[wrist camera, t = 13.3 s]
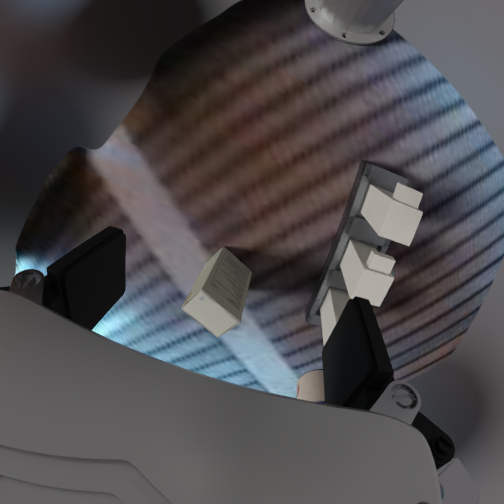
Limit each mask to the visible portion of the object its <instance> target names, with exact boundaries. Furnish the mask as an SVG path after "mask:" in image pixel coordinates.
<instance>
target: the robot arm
mask: <svg viewBox="0 0 504 504" xmlns="http://www.w3.org/2000/svg"><path fill="white" fill-rule="evenodd" d="M402 1H403V0H305V7H306V11H307V13H308V15H309V17H310V19H311V20H312V21H313V23H314V24H315V25H316V26H317V27H318V28H319V29H320V30H322V31H323V32H324V33H326V34H327V35H329V36H331V37H333V38H335V39H337V40H340V41H342V42H345V43H350V44H355V45H369V44H373V43H377V42H379V41H381V40H383V39H384V38H385V37H387V36H388V35H389V33H390V32H391V31H392V29H393V27H394V22H395V17H394V12H393V11H394V10H395V9H396V8H397V7H398V6H399V5H400V4H401V2H402ZM312 11H314V12H312ZM380 33H381V34H382V35H381V34H380ZM342 36H345V37H346V38H344V37H342ZM125 256H126V235H125V234H123V230H122V229H118V228H115V227H112V226H109V227H107V228H106V229H104V230H102V231H101V232H99V233H98V234H96V235H94V236H93V237H91V238H90V239H88V240H87V241H85V242H84V243H82V244H81V245H79V246H77V247H76V248H74V249H73V250H71V251H70V252H69V253H67V254H66V255H64V256H63V257H61V258H60V259H58V260H57V261H56V262H54V263H53V264H51V265H50V266H48V267H47V275H46V276H45V277H44V275H43V273H42V272H41V271H39V270H35V269H28V270H24V271H21V272H19V273H18V274H16V275H15V276H14V277H13V279H12V281H11V285H10V286H8V287H0V504H477V503H478V502H479V498H480V492H479V488H478V486H477V485H476V483H475V482H474V480H473V479H472V477H471V476H470V475H469V473H468V472H467V470H466V469H465V467H464V466H463V465H462V463H461V462H460V461H459V459H458V458H457V459H455V460H454V459H453V457H454V453H455V448H454V444H453V442H452V440H451V438H450V437H449V436H448V435H447V434H446V433H444V432H443V431H442V430H441V429H439V428H438V427H437V426H436V425H434V423H432V422H431V421H430V420H429V419H428V418H426V417H425V416H424V415H423V414H421V413H420V412H419V411H418V410H419V408H420V405H421V398H420V395H419V393H418V392H417V390H416V389H415V388H414V387H413V386H412V385H411V384H409V383H407V382H404V381H401V380H396V381H394V377H393V374H394V372H393V369H392V365H391V362H390V359H389V356H388V353H387V349H386V346H385V343H384V340H383V337H382V334H381V331H380V329H379V326H378V323H377V320H376V317H375V314H374V312H373V309H372V306H371V304H370V301H369V300H368V299H365V298H361V297H357V296H355V297H354V298H353V299H351V298H350V299H349V300H348V302H347V304H346V306H345V308H344V310H343V312H342V314H341V316H340V318H339V319H338V321H337V323H336V325H335V327H334V329H333V331H332V333H331V335H330V336H329V338H328V340H327V342H326V344H325V345H324V348H323V351H322V361H323V377H324V397H325V403H319V402H313V401H308V400H303V399H297V398H292V397H287V396H282V395H278V394H273V393H269V392H264V391H260V390H256V389H252V388H248V387H244V386H240V385H237V384H233V383H230V382H226V381H223V380H219V379H216V378H212V377H209V376H206V375H203V374H199V373H196V372H193V371H190V370H187V369H184V368H181V367H179V366H176V365H173V364H170V363H167V362H165V361H162V360H159V359H157V358H154V357H151V356H149V355H146V354H144V353H141V352H139V351H136V350H134V349H131V348H129V347H127V346H124V345H122V344H120V343H117V342H115V341H113V340H111V339H108V338H106V337H104V336H102V335H100V334H98V333H96V332H94V331H91V330H92V329H93V328H94V327H95V326H96V324H97V323H98V322H99V321H100V320H101V319H102V318H103V317H104V315H105V314H106V313H107V312H108V311H109V310H110V309H111V308H112V306H113V305H114V304H115V303H116V302H117V301H118V300H119V299H120V298H121V297H122V296H123V294H124V292H125V287H126V285H125Z"/></svg>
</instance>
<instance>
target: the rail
mask: <svg viewBox="0 0 504 504" xmlns="http://www.w3.org/2000/svg"><path fill="white" fill-rule="evenodd" d="M397 182H398V183H401V184H403V185H405V186H408V187H410V188H411V186H412V183H413V181H411V180H408V179H406V178H404V177H402V176H399V175H397V174H395V173H392V172H390V171H387V170H385V169H383V168H380V167H378V166H375V165H372V164H370V163H367V162H365V161H362V160H361V162H360V166H359V169H358V172H357V175H356V178H355V181H354V185H353V188H352V191H351V194H350V197H349V200H348V202H347V205H346V208H345V211H344V214H343V217H342V220H341V222H340V225H339V228H338V231H337V233H336V236H335V239H334V242H333V244H332V247H331V249H330V252H329V255H328V257H327V260H326V262H325V265H324V267H323V270H322V272H321V275H320V277H319V280H318V282H317V285H316V287H315V290H314V292H313V294H312V297H311V299H310V301H309V304H308V306H307V308H306V311H305V316H306V322H307V323H311V324H315V325H319V326H322V322H321V312H320V307H321V305H322V303H323V301H324V298H325V296H326V294H327V292H328V289H329V287H332V288H335V289H339V290H343V291H347V292H348V290H347V287H346V283H345V280H344V277H343V273H342V270H341V267H340V262H341V259H342V257H343V254H344V252H345V249H346V247H347V244H348V242H349V239H353V240H356V241H359V242H362V243H365V244H368V245H371V246H374V247H375V248H376V249H377V251H378V252H380V253H383V254H385V253H386V251H387V249H388V246H389V244H390V242H391V240H390V239H387V238H384V237H381V236H379V235H378V234H377V233H376V232H375V230H374V229H373V228H372V226H371V225H370V224H369V223H368V221H367V220H366V219H365V217H364V216H363V215H362V214H361V212H360V210H361V207H362V204H363V201H364V198H365V195H366V192H367V189H368V186H369V183H370V184H372V185H375V186H377V187H380V188H383V189H385V190H388V191H390V192H393V193H394V191H395V188H396V185H397Z"/></svg>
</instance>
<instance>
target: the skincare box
mask: <svg viewBox="0 0 504 504" xmlns="http://www.w3.org/2000/svg"><path fill="white" fill-rule="evenodd" d="M251 276H252V272H251V271H250V270H249V269H248V268H247V267H246V266H245V265H244V264H243V263H242V262H241V261H240V260H239V259H238V258H237V257H235V256H234V255H233V254H232V253H231V252H230V251H229V250H227V249H226V248H225V247H222V248H221V249H220V250H219V251H218V252H217V253H216V254H215V255H214V256H213V257H212V258H211V259H210V260H209V261H208V262H207V263H206V265H205V266H204V268H203V270H202V272H201V274H200V275H199V277H198V279H197V281H196V282H195V284H194V286H193V288H192V289H191V291H190V293H189V295H188V297H187V299H186V300H185V302H184V304H183V306H182V309H183V310H184V311H185V312H186V313H187V314H188V315H190V316H191V317H192V318H193V319H194V320H195V321H197V322H198V323H199V324H200V325H202V326H203V327H204V328H206V329H207V330H208V331H210V332H211V333H212V334H214V335H215V336H216V337H220V336H221V335H223V334H224V333H226V332H228V331H229V330H231V329H232V328H234V327H235V326H236V325H238V324H239V323H240V321H241V316H242V312H243V308H244V304H245V300H246V296H247V292H248V288H249V284H250V279H251Z"/></svg>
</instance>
